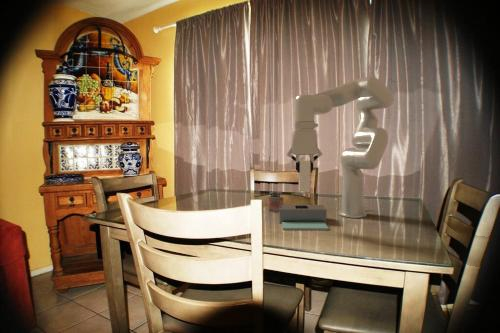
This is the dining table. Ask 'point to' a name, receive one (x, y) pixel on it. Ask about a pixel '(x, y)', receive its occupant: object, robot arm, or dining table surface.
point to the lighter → (275, 201)
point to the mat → (304, 226)
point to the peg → (304, 176)
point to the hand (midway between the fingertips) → (304, 171)
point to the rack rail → (302, 213)
